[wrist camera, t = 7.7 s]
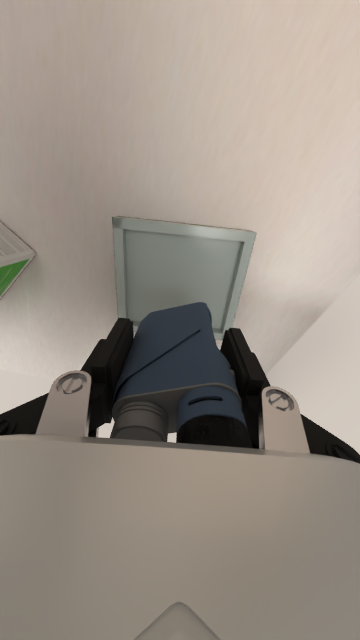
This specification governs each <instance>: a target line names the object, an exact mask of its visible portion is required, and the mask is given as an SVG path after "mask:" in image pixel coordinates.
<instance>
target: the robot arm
mask: <svg viewBox="0 0 360 640" xmlns="http://www.w3.org/2000/svg"><path fill="white" fill-rule="evenodd" d="M133 340H134V336H133V321H130V319H129V318H118V320H117V322H116V323H115V325H114V327H113V328H112V330H111V332H110V333H109V335H108V337H107V339H101V340H100V341H99V342H98V344H97V345H96V347H95V348H94V350H93V351H92V353H91V355H90V356H89V358H88V359H87V361H86V362H85V364H84V366H83V367H82V369H81V370H80V371H70V372H67V373H64V374H62V375H61V376H59V377H58V378H57V379H56V380H55V381H54V382H53V384H52V386H51V389H50V392H49V393H47V394H45V395H43V396H40V397H38V398H36V399H34V400H32V401H30V402H27V403H25V404H23V405H20V406H18V407H16V408H14V409H12V410H9V411H7V412H5V413H2V414H0V640H360V455H359V454H358V453H357V452H356V451H355V450H354V449H353V448H352V447H350V446H349V445H348V444H346V443H345V442H343V441H342V440H340V439H339V438H337V437H336V436H334V435H333V434H331V433H329V432H328V431H326V430H325V429H323V428H322V427H320V426H319V425H317V424H316V423H314V422H313V421H311V420H309V419H308V418H306V417H305V416H303V415H302V414H300V411H299V407H298V404H297V402H296V400H295V398H294V397H293V396H292V395H291V394H289V393H288V392H287V391H285V390H283V389H281V388H278V387H273V386H270V384H269V382H268V380H267V378H266V375H265V373H264V371H263V369H262V367H261V365H260V363H259V361H258V359H257V357H256V355H255V354H254V353H253V352H251V351H250V349H249V347H248V344H247V342H246V340H245V338H244V336H243V334H242V332H241V330H240V329H238V328H229V330H225V333H224V338H223V342H222V346H221V350H220V352H221V353H222V354H223V355H224V356H225V358H226V359H227V361H228V362H229V364H230V366H231V370H233V371H234V374H235V379H236V387H237V390H238V393H239V396H240V398H241V401H242V412H243V415H244V419H245V422H246V425H247V429H248V432H249V436H250V439H251V443H252V446H253V448H240V447H227V446H214V445H200V444H186V443H172V442H158V441H143V440H128V439H113V438H98V430H99V428H98V427H100V426H101V425H103V424H104V423H111V420H112V408H113V397H114V392H115V387H116V385H117V382H118V379H119V377H120V374H121V371H122V369H123V366H124V364H125V361H126V358H127V356H128V353H129V350H130V348H131V345H132V343H133ZM121 385H122V384H121ZM121 385H120V387H119V388H118V390H117V392H116V395H115V401H114V404H115V402H116V399H117V396H118V393H119V391H120V388H121Z"/></svg>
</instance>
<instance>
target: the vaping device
mask: <svg viewBox="0 0 360 640" xmlns="http://www.w3.org/2000/svg"><path fill="white" fill-rule="evenodd" d="M211 324H212V316H211V312H210V310H209V308H208V307H207V304H206V303H204V302H197V303H192V304H187V305H182V306H178V307H173V308H168V309H163V310H159V311H154V312H151V313H149V314H148V315H147V316H146V317H145V318H144V319H143V320H142V321H141V322H140V324H139V326H138V329H137V331H136V334H135V337H134V340H133V343H132V345H131V348H130V350H129V353H128V356H127V358H126V361H125V364H124V366H123V369H122V371H121V374H120V377H119V379H118V382H117V385H116V387H115V392H114V397H113V408H112V417H113V419H114V421H115V423H114V426H113V429H112V432H111V436H110V438H113V439H128V440H143V441H158V442H167V436H168V433H175V432H177V440H176V443H186V444H200V445H214V446H227V447H240V448H253V446H252V443H251V439H250V436H249V432H248V429H247V425H246V422H245V419H244V415H243V412H242V401H241V398H240V396H239V393H238V390H237V387H236V379H235V374H234V371H233V370H231V366H230V364H229V362H228V361H227V359H226V358H225V356H224V355H223V354H222V353H221V352H220V350H219V349H218V348H217V346H216V342H215V337H214V333H213V329H212V325H211ZM121 384H122V385H121ZM120 385H121V388H120V391H119V393H118V396H117V399H116V402H115V404H114V401H115V395H116V392H117V390H118V388H119V387H120Z"/></svg>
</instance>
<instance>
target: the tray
mask: <svg viewBox="0 0 360 640" xmlns="http://www.w3.org/2000/svg"><path fill="white" fill-rule="evenodd" d="M112 221H113V239H114V256H115V273H116V291H117V308H118V318H129V319H130V321H133V332H136V331H137V329H138V326H139V324H140V322H141V321H142V320H143V319H144V318H145V317H146V316H147V315H148V314H149V313H151V312H154V311H159V310H163V309H168V308H173V307H178V306H182V305H187V304H192V303H197V302H204V303H206V304H207V307H208V308H209V310H210V312H211V316H212V324H211V325H212V329H213V333H214V337H215V339H218V340H223V338H224V333H225V330H229V328H232V325H233V322H234V318H235V314H236V310H237V306H238V302H239V299H240V295H241V291H242V287H243V283H244V279H245V276H246V272H247V268H248V264H249V260H250V256H251V253H252V249H253V245H254V241H255V237H256V232H253V231H250V230H241V229H232V228H222V227H213V226H204V225H195V224H186V223H177V222H167V221H158V220H149V219H140V218H131V217H122V216H116V217H112Z"/></svg>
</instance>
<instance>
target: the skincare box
mask: <svg viewBox="0 0 360 640" xmlns="http://www.w3.org/2000/svg"><path fill="white" fill-rule="evenodd" d="M35 255H36V252H35V251H33V250H32V249H31V248H30V247H29V246H28V245H26V244H25V243H24V242H23V241H22V240H21V239H20V238H18V237H17V236H16V235H15V234H14V233H13V232H12V231H10V230H9V229H8V228H7V227H6V226H5V225H4V224H2V223H1V222H0V299H1V297H2V296H3V295H4V293H5V292H6V291H7V290H8V289H9V288H10V286H11V285H12V284H13V283H14V281H15V280H16V279H17V277H18V276H19V275H20V274H21V272H22V271H23V270H24V268H25V267H26V266H27V265H28V264H29V262H30V261H31V260H32V259H33V258H34V256H35Z"/></svg>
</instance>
